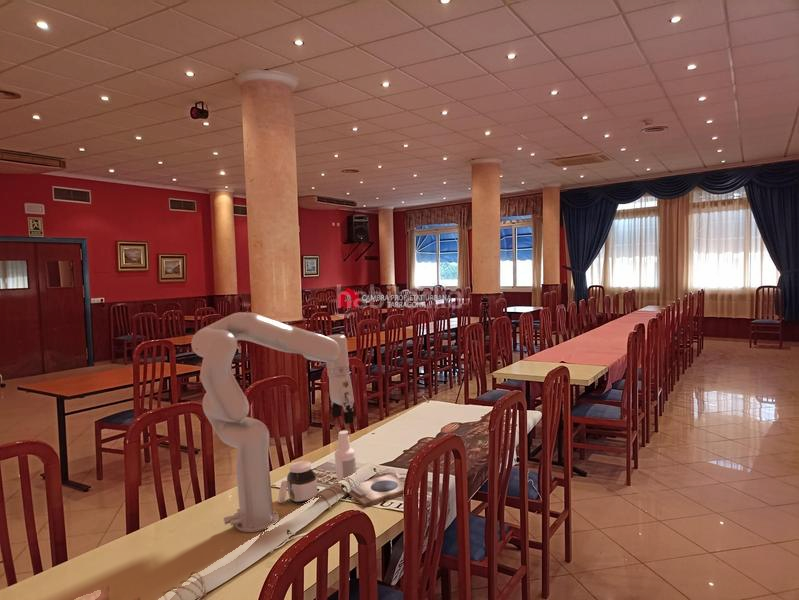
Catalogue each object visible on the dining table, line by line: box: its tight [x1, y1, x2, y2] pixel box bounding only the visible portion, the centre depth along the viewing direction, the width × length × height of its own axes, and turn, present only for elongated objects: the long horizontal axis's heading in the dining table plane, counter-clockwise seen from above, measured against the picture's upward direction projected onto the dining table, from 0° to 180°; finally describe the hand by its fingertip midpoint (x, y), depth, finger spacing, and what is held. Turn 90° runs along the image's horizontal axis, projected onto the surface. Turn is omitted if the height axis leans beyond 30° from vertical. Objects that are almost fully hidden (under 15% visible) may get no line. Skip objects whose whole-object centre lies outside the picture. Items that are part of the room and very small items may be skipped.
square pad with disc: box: [348, 472, 404, 508], centre depth 179 cm, size 18×16×2 cm
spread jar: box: [277, 460, 318, 505], centre depth 176 cm, size 12×11×12 cm
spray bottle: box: [334, 430, 357, 482], centre depth 187 cm, size 7×7×18 cm
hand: (343, 419), depth 187 cm, fingers open, 9 cm apart
